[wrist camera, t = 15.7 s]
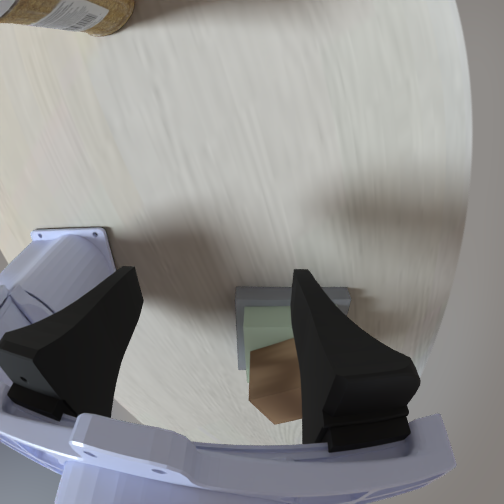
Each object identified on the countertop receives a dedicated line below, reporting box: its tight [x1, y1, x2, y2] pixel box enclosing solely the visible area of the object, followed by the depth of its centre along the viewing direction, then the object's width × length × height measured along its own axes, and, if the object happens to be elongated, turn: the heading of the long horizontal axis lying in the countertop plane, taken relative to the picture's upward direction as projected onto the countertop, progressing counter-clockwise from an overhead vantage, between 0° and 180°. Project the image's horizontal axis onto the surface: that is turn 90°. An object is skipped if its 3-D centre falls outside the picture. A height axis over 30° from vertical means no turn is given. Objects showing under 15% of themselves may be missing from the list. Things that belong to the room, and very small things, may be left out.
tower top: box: [243, 305, 338, 383], centre depth 26 cm, size 8×8×2 cm
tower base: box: [235, 287, 351, 370], centre depth 28 cm, size 10×10×2 cm
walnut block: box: [249, 338, 302, 424], centre depth 23 cm, size 5×5×5 cm
